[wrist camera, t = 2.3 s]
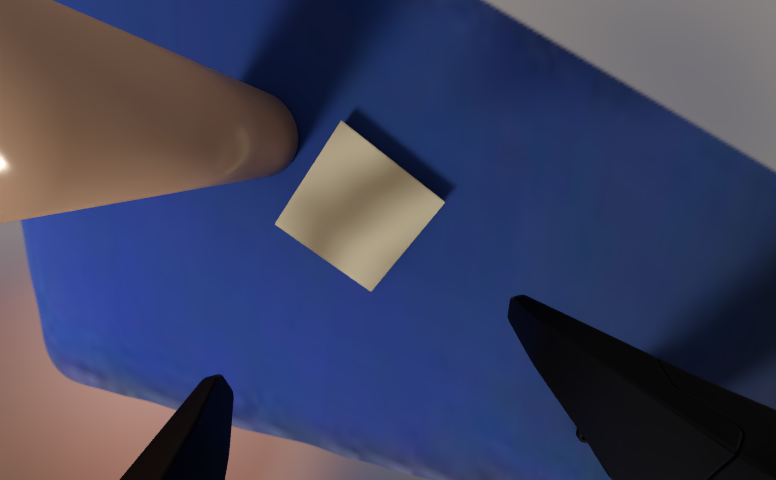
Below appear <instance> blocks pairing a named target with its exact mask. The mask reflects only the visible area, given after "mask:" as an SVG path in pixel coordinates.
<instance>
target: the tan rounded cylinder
mask: <svg viewBox="0 0 776 480" xmlns="http://www.w3.org/2000/svg"><path fill="white" fill-rule="evenodd" d="M297 147H298V131H297V126H296V123H295V120H294V118H293V116H292V114H291V112H290V111H289V109H288V108H287V107H286V106H285V105H284V104H283V103H282V101H280V100H279V99H278V98H277V97H275V96H273V95H272V94H269V93H267V92H265V91H263V90H260V89H258V88H256V87H253V86H251V85H249V84H246V83H244V82H242V81H239V80H237V79H235V78H232V77H230V76H228V75H225V74H223V73H221V72H218V71H216V70H214V69H211V68H209V67H207V66H204V65H202V64H200V63H197V62H195V61H193V60H190V59H188V58H185V57H183V56H181V55H178V54H176V53H174V52H171V51H169V50H167V49H164V48H162V47H160V46H157V45H155V44H153V43H150V42H148V41H146V40H143V39H141V38H139V37H136V36H134V35H132V34H129V33H127V32H125V31H122V30H120V29H118V28H115V27H113V26H111V25H108V24H106V23H104V22H101V21H99V20H97V19H94V18H92V17H90V16H87V15H85V14H83V13H80V12H78V11H76V10H73V9H71V8H69V7H66V6H64V5H62V4H59V3H57V2H55V1H52V0H0V223H3V222H11V221H16V220H22V219H28V218H34V217H39V216H45V215H51V214H56V213H62V212H68V211H73V210H79V209H85V208H90V207H96V206H102V205H107V204H113V203H119V202H125V201H130V200H136V199H142V198H147V197H153V196H159V195H164V194H170V193H176V192H181V191H187V190H193V189H198V188H204V187H210V186H215V185H221V184H227V183H233V182H238V181H244V180H250V179H255V178H261V177H267V176H272V175H275V174H278V173H280V172H281V171H283V170H284V169H285V168H287V167H288V166H289V164H290V163H291V162H292V160H293V159H294V156H295V154H296V151H297Z"/></svg>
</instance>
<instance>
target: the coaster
mask: <svg viewBox="0 0 776 480" xmlns="http://www.w3.org/2000/svg"><path fill="white" fill-rule="evenodd" d="M444 203H445V202H444V201H443V200H442V199H441V198H440V197H438V196H437V195H436V194H435V193H433V192H432V191H431V190H430V189H428V188H427V187H426V186H424V185H423V184H422V183H421V182H419V181H418V180H417V179H416V178H414V177H413V176H412V175H410V174H409V173H408V172H407V171H405V170H404V169H403V168H402V167H400V166H399V165H398V164H397V163H395V162H394V161H393V160H391V159H390V158H389V157H388V156H386V155H385V154H384V153H383V152H381V151H380V150H379V149H377V148H376V147H375V146H374V145H372V144H371V143H370V142H369V141H367V140H366V139H365V138H364V137H362V136H361V135H360V134H358V133H357V132H356V131H355V130H353V129H352V128H351V127H350V126H348V125H347V124H346V123H344V122H343V121H341V122H340V123H339V125H338V126H337V128H336V129H335V131H334V133H333V134H332V136H331V137H330V139H329V140H328V142H327V143H326V145H325V147H324V148H323V150H322V151H321V153H320V154H319V156H318V157H317V159H316V161H315V162H314V164H313V165H312V167H311V168H310V170H309V171H308V173H307V175H306V176H305V178H304V179H303V181H302V182H301V184H300V186H299V187H298V189H297V190H296V192H295V193H294V195H293V196H292V198H291V200H290V201H289V203H288V204H287V206H286V207H285V209H284V210H283V212H282V214H281V215H280V217H279V218H278V220H277V221H276V223H275V225H276V226H278V227H279V228H281V229H282V230H284V231H285V232H286V233H288V234H289V235H291V236H292V237H294V238H295V239H296V240H298V241H299V242H301V243H302V244H304V245H305V246H306V247H308V248H309V249H311V250H312V251H314V252H315V253H316V254H318V255H319V256H321V257H322V258H323V259H325V260H326V261H328V262H329V263H331V264H332V265H333V266H335V267H336V268H338V269H339V270H341V271H342V272H343V273H345V274H346V275H348V276H349V277H351V278H352V279H353V280H355V281H356V282H358V283H359V284H360V285H362V286H363V287H365V288H366V289H368V290H369V291H370V292H371V291H372V290H373V289H374V287H375V286H376V285H377V284H378V283H379V281H380V280H381V279H382V278H383V277H384V275H385V274H386V273H387V272H388V271H389V269H390V268H391V267H392V266H393V265H394V263H395V262H396V261H397V260H398V259H399V257H400V256H401V255H402V254H403V253H404V251H405V250H406V249H407V248H408V247H409V245H410V244H411V243H412V242H413V241H414V239H415V238H416V237H417V236H418V235H419V233H420V232H421V231H422V230H423V229H424V227H425V226H426V225H427V224H428V223H429V221H430V220H431V219H432V218H433V216H434V215H435V214H436V213H437V212H438V210H439V209H440V208H441V207H442V206H443V204H444Z"/></svg>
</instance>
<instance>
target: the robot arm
mask: <svg viewBox="0 0 776 480" xmlns="http://www.w3.org/2000/svg"><path fill="white" fill-rule="evenodd" d="M508 319H509V322H510V324H511V326H512V327H513V329H514V331H515V333H516V335H517V336H518V338H519V340H520V342H521V344H522V345H523V347H524V349H525V351H526V353H527V354H528V356H529V358H530V360H531V361H532V363H533V365H534V366H535V368H536V369H537V371H538V372H539V374H540V375H541V376H542V378H543V379H544V381H545V382H546V384H547V385H548V387H549V388H550V389H551V391H552V392H553V394H554V395H555V397H556V398H557V400H558V401H559V402H560V404H561V405H562V407H563V408H564V410H565V411H566V412H567V414H568V415H569V417H570V418H571V420H572V421H573V423H574V424H575V425H576V427H577V431H576V436H577V437H578V439H579V440H580V441H581V442H584V443H588V444H589V446H590V447H591V449H592V451H593V452H594V454H595V455H596V457H597V458H598V460H599V462H600V463H601V465H602V466H603V468H604V470H605V471H606V473H607V474H608V476H609V477H610V478H611V479H612V480H776V410H775V409H773V408H771V407H768V406H766V405H763V404H761V403H759V402H756V401H754V400H751V399H749V398H746V397H744V396H742V395H739V394H737V393H734V392H732V391H730V390H727V389H725V388H723V387H720V386H718V385H716V384H713V383H711V382H709V381H706V380H704V379H702V378H700V377H697V376H695V375H693V374H691V373H689V372H686V371H684V370H682V369H680V368H678V367H676V366H673V365H671V364H669V363H667V362H665V361H663V360H661V359H658V358H657V359H656V358H655V357H654V356H652V355H650V354H648V353H646V352H644V351H642V350H640V349H637V348H635V347H633V346H631V345H629V344H627V343H625V342H623V341H621V340H618V339H616V338H614V337H612V336H610V335H608V334H606V333H604V332H602V331H600V330H597V329H595V328H593V327H591V326H589V325H587V324H585V323H583V322H581V321H578V320H576V319H574V318H572V317H570V316H568V315H566V314H564V313H562V312H559V311H557V310H555V309H553V308H551V307H549V306H547V305H545V304H543V303H541V302H538V301H536V300H534V299H532V298H530V297H528V296H526V295H518V296H515V297H512V298H511V299H510V304H509V310H508ZM233 400H234V396H233V391H232V389H231V387H230V386H229V385H228V383H227V382H226V380H225V379H224V377H223V376H222V375H220V374H217V375H213V376H209V377H206V378H204V379H203V380H202V381H201V382H200V383H199V384H198V386H197V387H196V388H195V389H194V390H193V392H192V393H191V394H190V395H189V397H188V398H187V399H186V400H185V401H184V403H183V404H182V405H181V406H180V407H179V409H178V410H177V411H176V412H175V413H174V415H173V416H172V417H171V418H170V420H169V421H168V422H167V423H166V424H165V425H164V427H163V428H162V429H161V430H160V432H159V433H158V434H157V435H156V436H155V438H154V439H153V440H152V441H151V442H150V444H149V445H148V446H147V447H146V448H145V450H144V451H143V452H142V453H141V454H140V456H139V457H138V458H137V459H136V461H135V462H134V463H133V464H132V465H131V467H130V468H129V469H128V470H127V471H126V473H125V474H124V475H123V476H122V478H121V479H120V480H225V475H226V470H227V464H228V458H229V448H230V437H231V425H232V412H233Z"/></svg>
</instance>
